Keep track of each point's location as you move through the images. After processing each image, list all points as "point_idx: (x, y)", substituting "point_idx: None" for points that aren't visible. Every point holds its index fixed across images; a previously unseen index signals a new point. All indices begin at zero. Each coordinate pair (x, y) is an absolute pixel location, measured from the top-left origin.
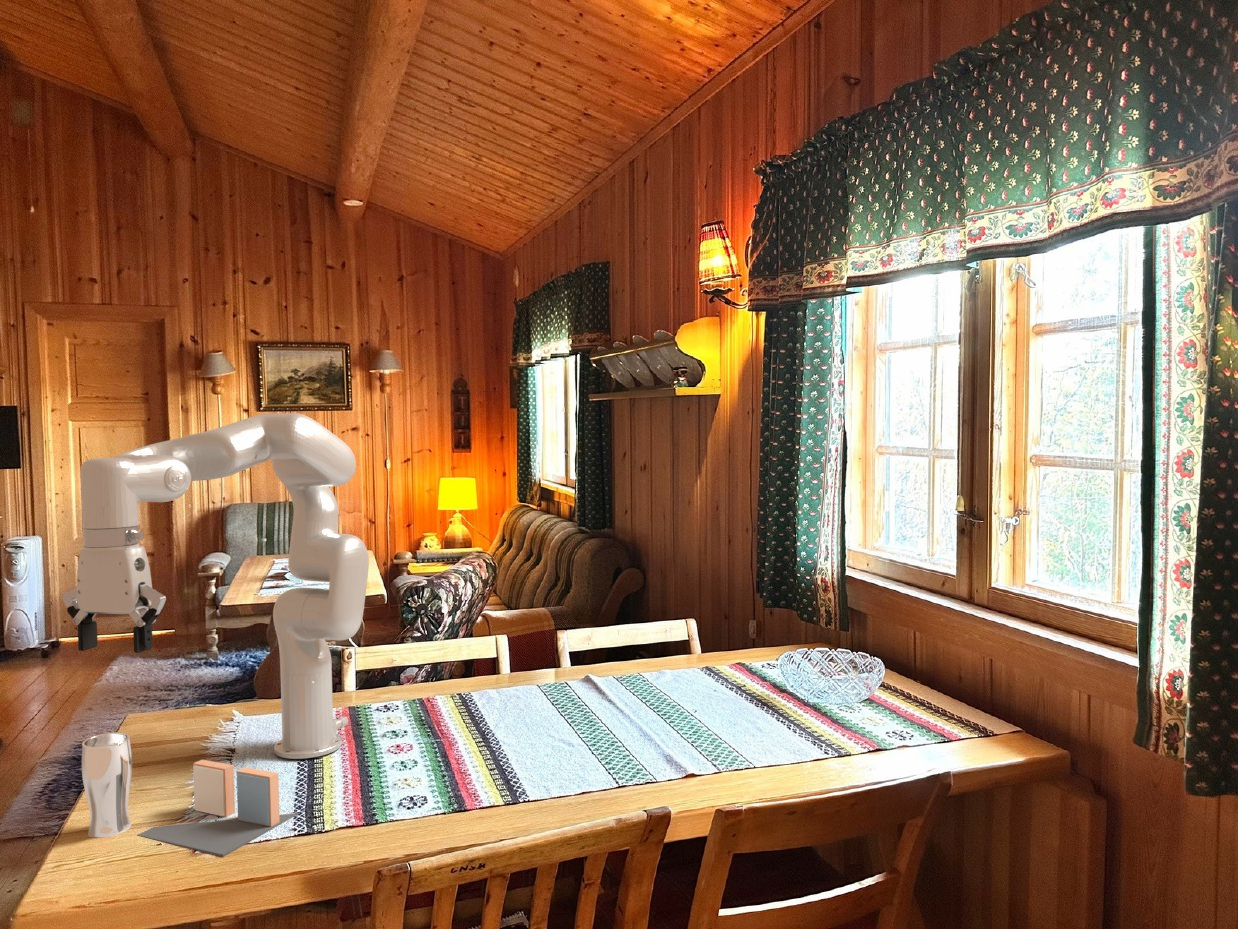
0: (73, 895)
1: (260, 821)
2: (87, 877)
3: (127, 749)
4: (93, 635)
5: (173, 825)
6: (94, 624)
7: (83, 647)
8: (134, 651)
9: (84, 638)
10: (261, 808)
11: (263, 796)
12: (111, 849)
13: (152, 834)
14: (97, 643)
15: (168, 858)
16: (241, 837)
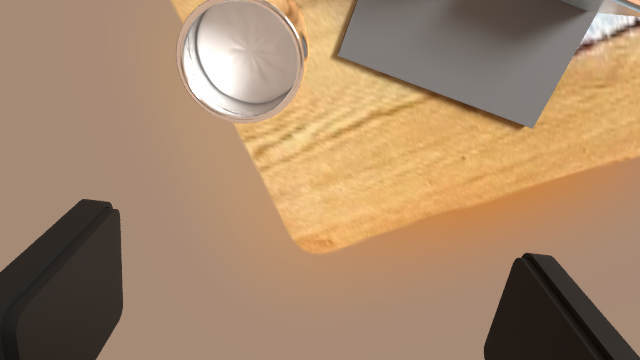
0: (342, 227)
1: (573, 4)
2: (331, 182)
3: (306, 54)
4: (81, 284)
5: (387, 8)
6: (29, 334)
7: (115, 323)
8: (485, 355)
9: (89, 357)
10: (591, 7)
11: (614, 11)
12: (312, 94)
13: (367, 53)
14: (111, 213)
15: (430, 120)
16: (545, 60)
